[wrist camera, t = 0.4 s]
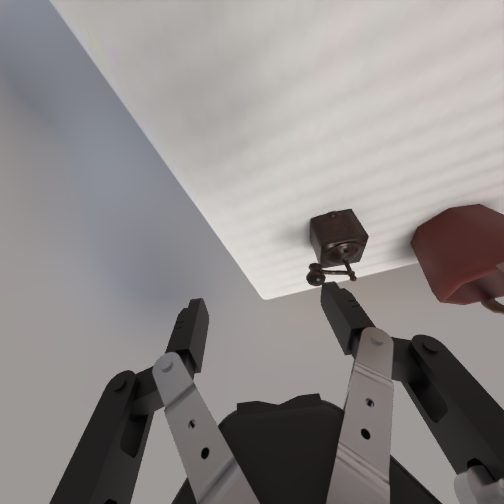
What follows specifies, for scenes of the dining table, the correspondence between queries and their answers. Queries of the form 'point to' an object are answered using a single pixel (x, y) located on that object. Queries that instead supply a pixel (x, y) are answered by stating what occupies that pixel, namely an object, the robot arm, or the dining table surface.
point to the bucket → (463, 255)
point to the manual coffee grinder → (335, 244)
